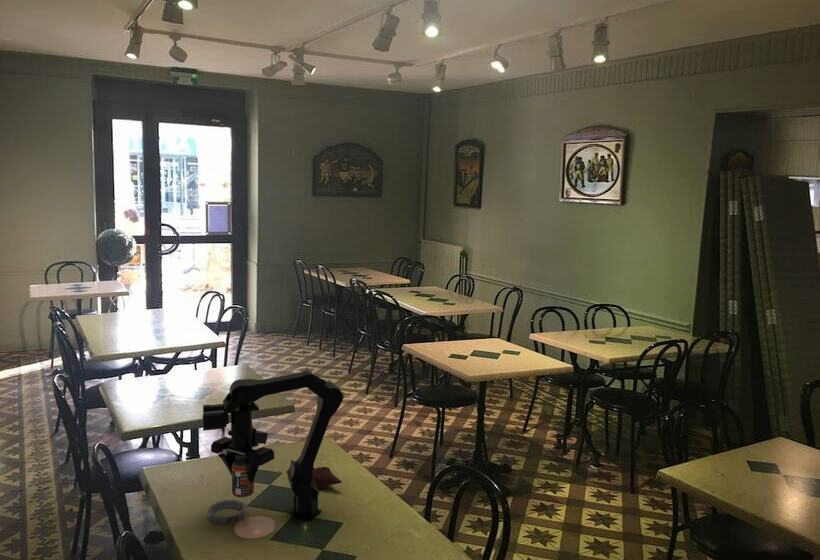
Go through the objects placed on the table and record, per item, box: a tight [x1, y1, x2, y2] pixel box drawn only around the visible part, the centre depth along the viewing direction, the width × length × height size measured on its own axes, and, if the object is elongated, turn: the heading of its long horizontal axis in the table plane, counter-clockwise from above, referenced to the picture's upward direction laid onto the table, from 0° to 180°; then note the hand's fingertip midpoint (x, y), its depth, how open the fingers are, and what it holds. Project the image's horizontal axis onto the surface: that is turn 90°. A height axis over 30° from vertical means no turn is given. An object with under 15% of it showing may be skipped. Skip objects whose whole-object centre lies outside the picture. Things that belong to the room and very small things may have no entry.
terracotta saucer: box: [233, 515, 276, 540], centre depth 182 cm, size 11×11×1 cm
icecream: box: [312, 466, 342, 490], centre depth 208 cm, size 7×7×15 cm
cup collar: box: [207, 499, 248, 525], centre depth 189 cm, size 10×10×2 cm
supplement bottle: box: [231, 453, 255, 498], centre depth 183 cm, size 6×6×11 cm
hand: (243, 479), depth 184 cm, fingers closed on supplement bottle, 6 cm apart
